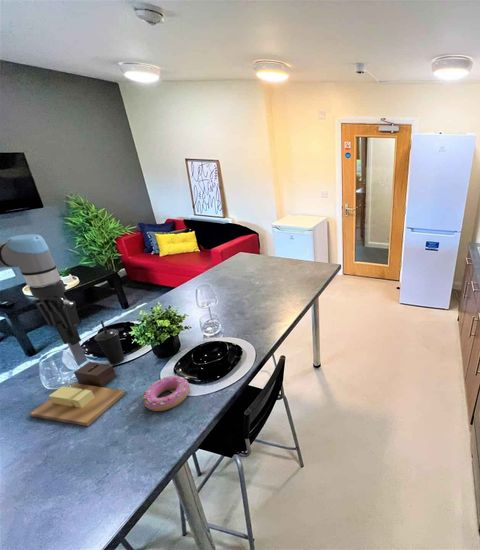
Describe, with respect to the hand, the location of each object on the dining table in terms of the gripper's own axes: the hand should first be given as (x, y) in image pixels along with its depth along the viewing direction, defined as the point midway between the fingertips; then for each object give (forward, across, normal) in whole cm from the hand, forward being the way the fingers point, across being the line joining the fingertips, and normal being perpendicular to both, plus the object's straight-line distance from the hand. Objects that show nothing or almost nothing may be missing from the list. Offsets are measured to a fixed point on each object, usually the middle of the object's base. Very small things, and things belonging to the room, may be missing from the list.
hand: (72, 342), depth 102 cm
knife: (+9, 0, 0) cm, 9 cm away
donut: (+21, -32, 0) cm, 38 cm away
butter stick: (+20, +1, +8) cm, 21 cm away
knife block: (+21, +2, -3) cm, 22 cm away
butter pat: (+20, -6, +8) cm, 22 cm away
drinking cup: (+21, +4, -14) cm, 26 cm away
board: (+21, -3, +8) cm, 23 cm away
